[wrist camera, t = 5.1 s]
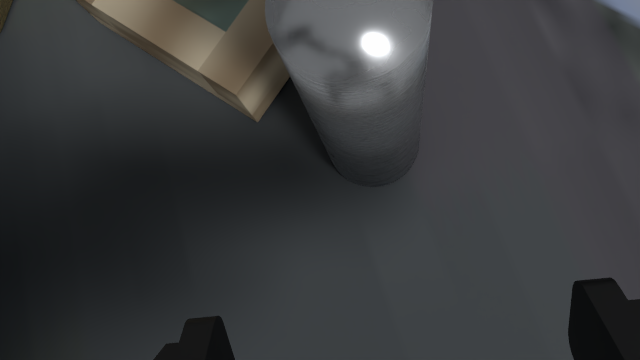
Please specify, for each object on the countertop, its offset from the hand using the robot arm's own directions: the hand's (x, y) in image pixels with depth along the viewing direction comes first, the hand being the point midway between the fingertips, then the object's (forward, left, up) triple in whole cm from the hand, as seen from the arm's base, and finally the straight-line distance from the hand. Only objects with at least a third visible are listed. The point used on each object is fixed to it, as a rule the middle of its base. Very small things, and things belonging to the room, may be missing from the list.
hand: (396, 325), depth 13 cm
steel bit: (-5, +6, -11) cm, 13 cm away
